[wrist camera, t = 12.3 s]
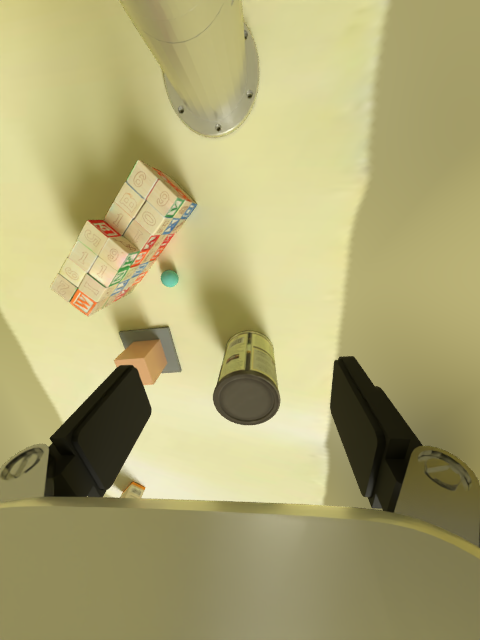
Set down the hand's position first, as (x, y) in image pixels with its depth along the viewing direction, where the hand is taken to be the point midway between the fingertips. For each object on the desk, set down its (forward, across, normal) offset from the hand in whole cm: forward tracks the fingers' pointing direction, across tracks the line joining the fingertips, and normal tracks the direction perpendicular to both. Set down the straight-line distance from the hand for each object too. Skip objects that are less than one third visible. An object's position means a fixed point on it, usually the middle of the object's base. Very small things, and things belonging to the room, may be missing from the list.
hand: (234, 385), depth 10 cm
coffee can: (+32, +2, +18) cm, 36 cm away
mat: (+31, +23, +17) cm, 43 cm away
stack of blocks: (+32, +18, -6) cm, 37 cm away
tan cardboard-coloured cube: (+31, +23, +17) cm, 42 cm away
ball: (+29, +14, 0) cm, 33 cm away
